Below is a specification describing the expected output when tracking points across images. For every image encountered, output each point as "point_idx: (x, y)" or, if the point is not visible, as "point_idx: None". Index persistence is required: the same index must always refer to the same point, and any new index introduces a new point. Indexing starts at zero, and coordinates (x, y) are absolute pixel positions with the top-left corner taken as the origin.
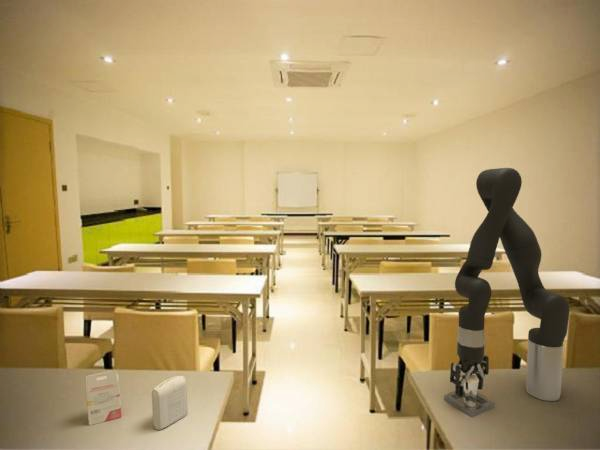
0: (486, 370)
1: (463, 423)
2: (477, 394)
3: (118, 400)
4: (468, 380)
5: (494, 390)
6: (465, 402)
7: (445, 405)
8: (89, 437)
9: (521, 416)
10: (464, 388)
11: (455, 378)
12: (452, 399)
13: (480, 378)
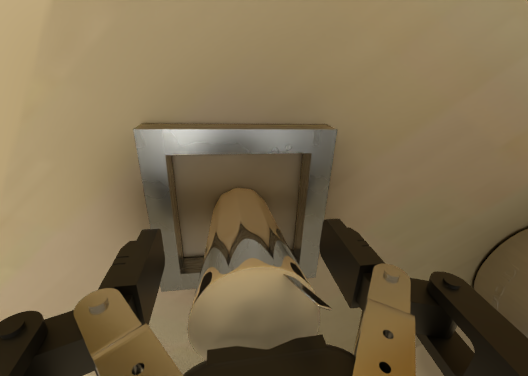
0: (437, 357)
1: (95, 290)
2: (313, 209)
3: None
4: (200, 355)
5: (433, 183)
6: (212, 215)
7: (109, 166)
8: None
9: (329, 321)
10: (203, 260)
11: (81, 329)
12: (148, 186)
13: (351, 303)
